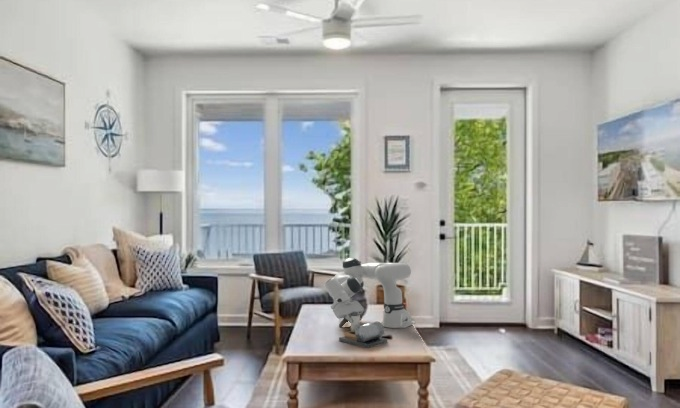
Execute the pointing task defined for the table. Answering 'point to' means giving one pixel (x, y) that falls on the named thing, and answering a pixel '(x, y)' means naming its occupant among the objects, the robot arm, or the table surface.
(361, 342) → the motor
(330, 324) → the table surface
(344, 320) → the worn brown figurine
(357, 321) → the white capped bottle
